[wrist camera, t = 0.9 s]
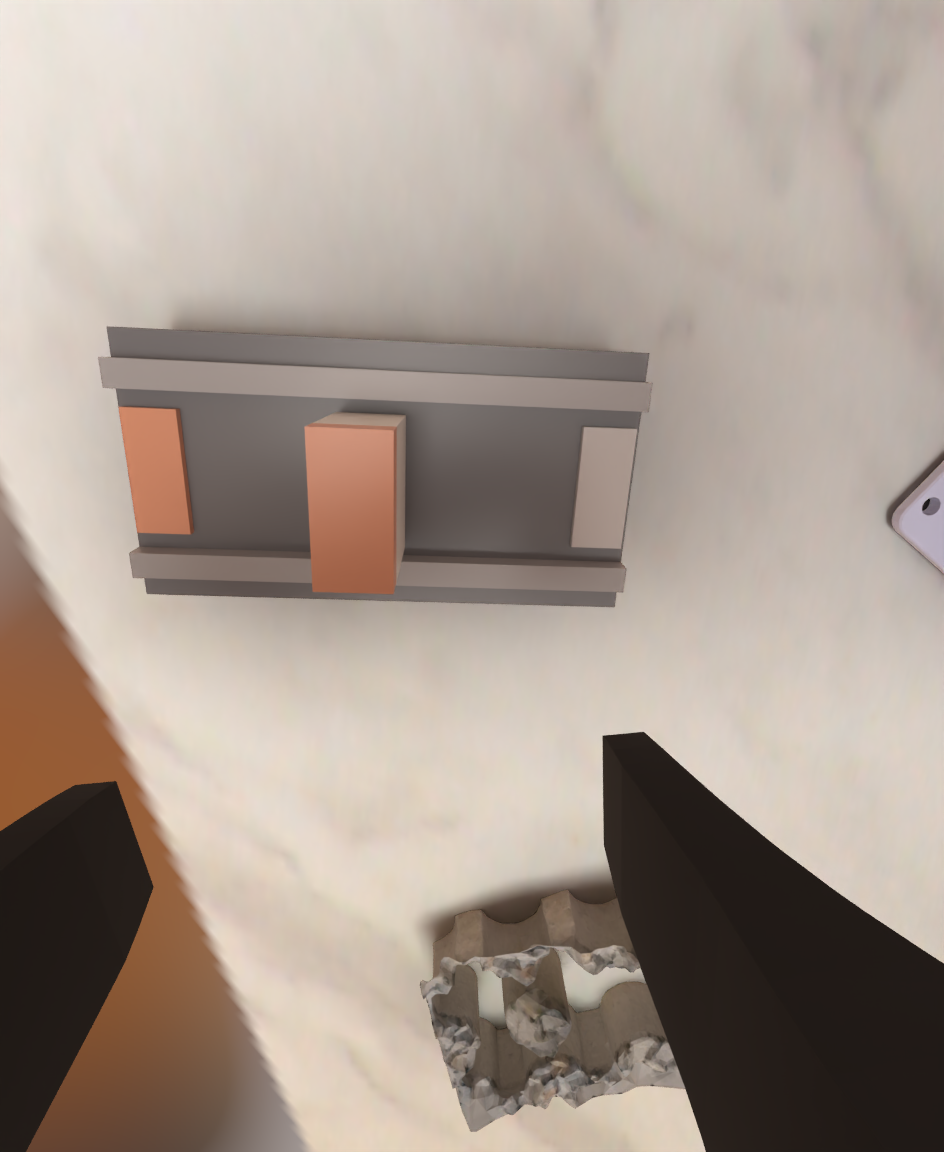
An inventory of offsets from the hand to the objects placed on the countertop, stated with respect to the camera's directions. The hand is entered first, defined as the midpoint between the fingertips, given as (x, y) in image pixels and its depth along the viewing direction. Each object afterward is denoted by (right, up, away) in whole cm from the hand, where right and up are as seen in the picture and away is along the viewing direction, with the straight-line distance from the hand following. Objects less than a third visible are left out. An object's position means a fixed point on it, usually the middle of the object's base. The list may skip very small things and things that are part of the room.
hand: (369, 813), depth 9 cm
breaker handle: (-1, +6, +4) cm, 7 cm away
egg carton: (+5, -11, +15) cm, 19 cm away
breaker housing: (-1, +7, +8) cm, 10 cm away
